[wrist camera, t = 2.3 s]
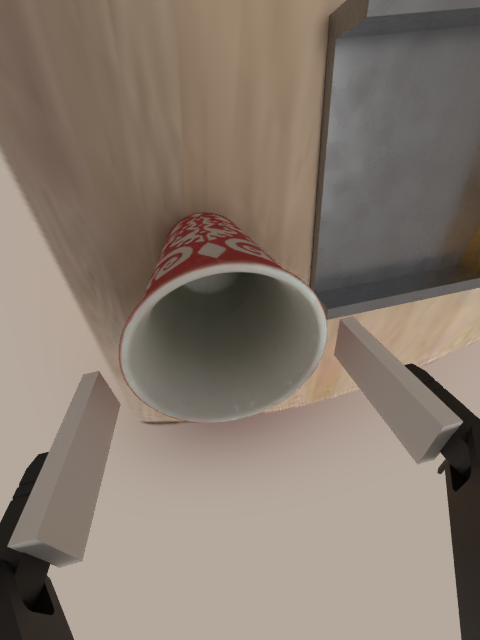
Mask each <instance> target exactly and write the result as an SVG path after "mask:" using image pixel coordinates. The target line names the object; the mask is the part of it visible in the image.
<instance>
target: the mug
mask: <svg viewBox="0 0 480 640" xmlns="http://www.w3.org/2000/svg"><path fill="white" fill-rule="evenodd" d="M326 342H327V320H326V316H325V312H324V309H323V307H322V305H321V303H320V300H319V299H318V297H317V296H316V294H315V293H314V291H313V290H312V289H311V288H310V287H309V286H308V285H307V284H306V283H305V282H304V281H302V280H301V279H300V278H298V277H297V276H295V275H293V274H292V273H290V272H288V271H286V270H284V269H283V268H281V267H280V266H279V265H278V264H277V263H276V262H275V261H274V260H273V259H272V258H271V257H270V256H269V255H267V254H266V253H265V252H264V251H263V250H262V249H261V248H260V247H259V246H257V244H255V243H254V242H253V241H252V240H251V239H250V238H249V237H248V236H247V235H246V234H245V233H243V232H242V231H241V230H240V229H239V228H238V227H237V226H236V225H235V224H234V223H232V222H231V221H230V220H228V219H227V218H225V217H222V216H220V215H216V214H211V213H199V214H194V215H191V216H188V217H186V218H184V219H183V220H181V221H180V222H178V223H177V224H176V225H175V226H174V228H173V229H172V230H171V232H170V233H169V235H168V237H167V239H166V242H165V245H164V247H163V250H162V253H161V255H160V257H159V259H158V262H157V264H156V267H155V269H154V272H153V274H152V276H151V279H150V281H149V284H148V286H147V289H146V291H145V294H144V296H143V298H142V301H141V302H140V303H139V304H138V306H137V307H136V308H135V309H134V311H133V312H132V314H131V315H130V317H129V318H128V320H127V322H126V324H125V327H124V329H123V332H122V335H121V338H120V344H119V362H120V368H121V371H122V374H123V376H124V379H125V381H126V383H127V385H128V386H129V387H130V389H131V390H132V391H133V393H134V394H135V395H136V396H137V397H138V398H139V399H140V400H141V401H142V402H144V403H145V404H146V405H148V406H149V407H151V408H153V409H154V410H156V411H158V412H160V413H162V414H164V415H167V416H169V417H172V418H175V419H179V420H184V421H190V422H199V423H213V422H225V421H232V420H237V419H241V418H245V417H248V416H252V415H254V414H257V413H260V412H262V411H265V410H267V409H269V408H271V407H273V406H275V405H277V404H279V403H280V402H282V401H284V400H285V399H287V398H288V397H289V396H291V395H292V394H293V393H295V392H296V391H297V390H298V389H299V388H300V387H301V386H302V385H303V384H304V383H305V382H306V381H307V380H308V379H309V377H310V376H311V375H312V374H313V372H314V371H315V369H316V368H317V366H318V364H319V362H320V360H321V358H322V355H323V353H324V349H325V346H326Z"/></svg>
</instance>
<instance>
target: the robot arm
mask: <svg viewBox="0 0 480 640" xmlns="http://www.w3.org/2000/svg"><path fill="white" fill-rule="evenodd" d="M334 355H335V356H336V358H337V359H338V360H339V362H340V363H341V364H342V366H343V367H344V368H345V370H346V371H347V372H348V374H349V375H350V376H351V377H352V379H353V380H354V381H355V383H356V384H357V385H358V387H359V388H360V389H361V391H362V392H363V393H364V394H365V396H366V397H367V398H368V400H369V401H370V402H371V404H372V405H373V406H374V408H375V409H376V410H377V412H378V413H379V414H380V416H381V417H382V418H383V419H384V421H385V422H386V423H387V425H388V426H389V427H390V429H391V430H392V431H393V433H394V434H395V435H396V436H397V438H398V439H399V440H400V442H401V443H402V444H403V446H404V447H405V448H406V450H407V451H408V452H409V454H410V455H411V456H412V458H413V459H414V460H415V461H416V463H417V464H421V463H424V462H427V461H431V460H434V459H435V458H436V457H437V456H438V454H439V453H440V452H441V454H442V455H443V456H444V457H445V458H446V460H445V461H444V462H443V463H442V464H441V466H440V467H439V468H438V473H439V474H441V473H442V472H443V471H444V470H445V475H446V485H447V496H448V504H449V505H448V506H449V516H450V526H451V536H452V546H453V556H454V567H455V577H456V587H457V597H458V607H459V618H460V628H461V638H462V640H480V419H479V418H478V417H476V416H475V415H474V414H473V413H472V412H471V411H470V410H469V409H467V408H466V407H465V406H464V405H463V404H462V403H461V402H460V401H458V400H457V399H456V398H455V397H454V396H453V395H452V394H451V393H449V392H448V391H447V390H446V389H444V388H443V386H441V385H440V384H439V383H438V382H437V381H435V380H434V378H433V377H431V376H430V375H429V374H428V373H427V372H426V371H425V370H423V369H421V368H419V367H417V366H416V365H414V364H407V365H403V364H402V363H401V362H400V361H399V360H398V359H397V358H396V357H395V356H394V355H393V354H392V353H391V352H389V351H388V350H387V349H386V348H385V347H384V346H383V345H382V344H381V343H380V342H379V341H378V340H377V339H376V338H375V337H374V336H373V335H372V334H371V333H369V332H368V331H367V330H366V329H365V328H364V327H363V326H362V325H361V324H360V323H359V322H358V321H357V320H356V319H355V318H354V317H348V318H344V319H340V322H339V329H338V335H337V341H336V347H335V353H334ZM119 407H120V403H119V401H118V400H117V398H116V397H115V395H114V393H113V392H112V390H111V389H110V387H109V386H108V384H107V383H106V381H105V380H104V378H103V377H102V375H101V374H100V372H99V371H97V372H93V373H88V374H84V375H83V377H82V379H81V381H80V383H79V386H78V388H77V390H76V392H75V395H74V397H73V399H72V401H71V403H70V406H69V408H68V410H67V413H66V415H65V417H64V419H63V422H62V424H61V426H60V428H59V431H58V433H57V435H56V438H55V440H54V442H53V444H52V446H51V449H50V451H49V452H46V453H42V454H39V455H38V456H37V457H36V458H35V459H34V461H33V462H32V463H31V464H30V465H29V467H28V468H27V469H26V471H25V473H24V475H23V477H22V479H21V481H20V484H19V487H18V488H17V490H16V492H15V494H14V496H13V500H12V501H11V502H10V504H9V506H8V508H7V510H6V512H5V514H4V516H3V518H2V520H1V522H0V640H74V639H73V636H72V633H71V631H70V628H69V626H68V623H67V620H66V618H65V616H64V613H63V610H62V608H61V605H60V603H59V600H58V597H57V595H56V592H55V590H54V587H53V585H52V582H51V580H50V578H49V577H48V576H47V572H48V569H49V566H50V564H52V565H55V566H57V567H63V566H66V565H70V564H73V563H76V562H80V561H82V559H83V555H84V552H85V547H86V543H87V539H88V535H89V531H90V527H91V523H92V519H93V515H94V510H95V506H96V502H97V498H98V494H99V489H100V486H101V481H102V477H103V473H104V469H105V465H106V461H107V457H108V453H109V449H110V445H111V440H112V436H113V432H114V428H115V424H116V420H117V416H118V411H119Z"/></svg>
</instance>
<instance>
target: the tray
mask: <svg viewBox="0 0 480 640" xmlns="http://www.w3.org/2000/svg"><path fill="white" fill-rule="evenodd" d="M479 287H480V0H347V1H345V2H344V3H343V4H342V5H341V6H340V7H339V8H338V9H337V10H335V11H334V12H333V13H332V14H331V15H330V23H329V36H328V50H327V64H326V77H325V91H324V104H323V118H322V132H321V145H320V159H319V173H318V186H317V200H316V213H315V227H314V241H313V254H312V268H311V281H310V288H311V289H312V290H313V291H314V293H315V294H316V296H317V297H318V299H319V300H320V303H321V305H322V307H323V309H324V312H325V316H326V319H327V320H328V319H333V318H338V317H342V316H347V315H352V314H356V313H361V312H366V311H371V310H375V309H380V308H385V307H390V306H394V305H399V304H404V303H408V302H413V301H418V300H423V299H427V298H432V297H437V296H442V295H446V294H451V293H456V292H461V291H465V290H470V289H475V288H479Z"/></svg>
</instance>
